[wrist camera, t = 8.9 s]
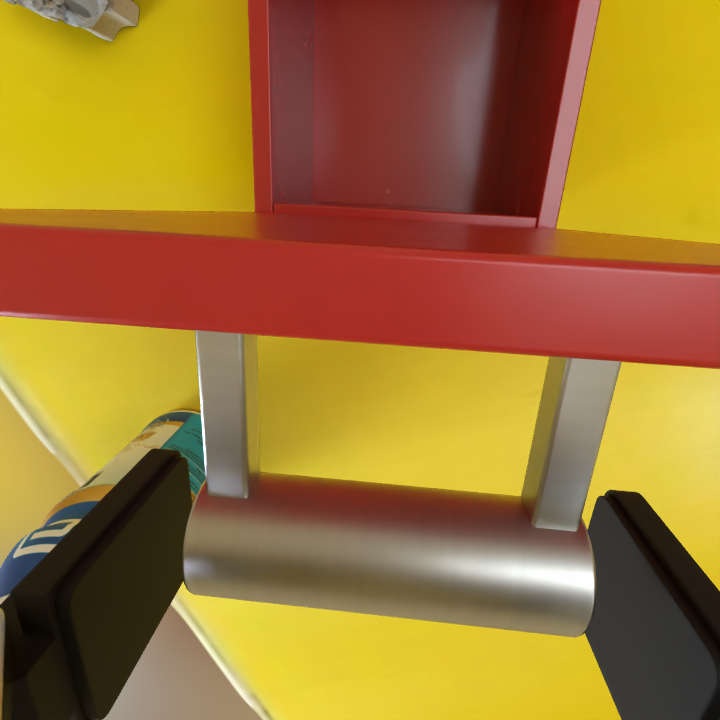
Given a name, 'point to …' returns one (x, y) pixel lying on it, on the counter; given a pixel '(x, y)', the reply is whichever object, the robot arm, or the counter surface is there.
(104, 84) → the counter surface
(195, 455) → the beverage bottle
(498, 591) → the cab door
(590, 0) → the cabinet
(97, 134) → the counter surface
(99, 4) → the egg carton
